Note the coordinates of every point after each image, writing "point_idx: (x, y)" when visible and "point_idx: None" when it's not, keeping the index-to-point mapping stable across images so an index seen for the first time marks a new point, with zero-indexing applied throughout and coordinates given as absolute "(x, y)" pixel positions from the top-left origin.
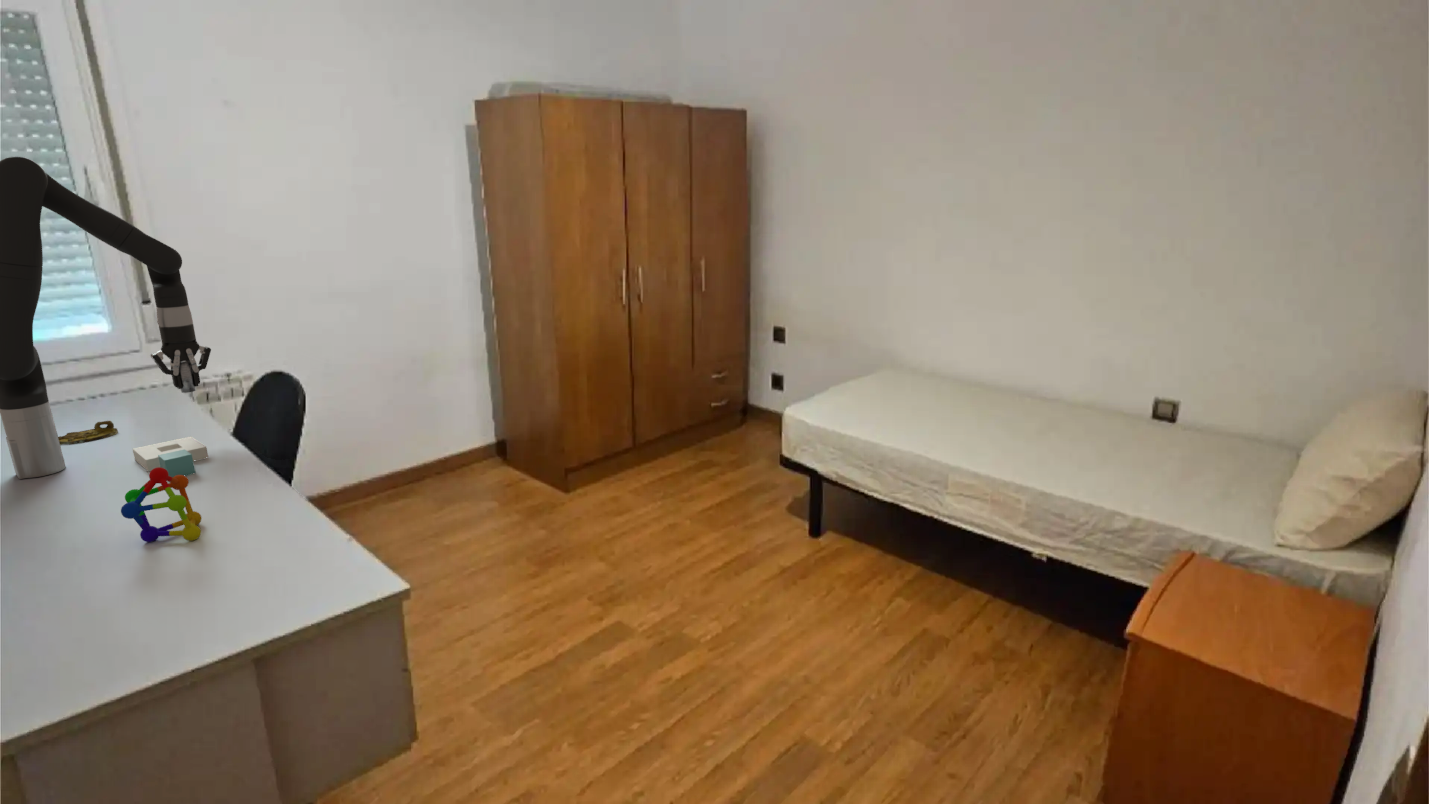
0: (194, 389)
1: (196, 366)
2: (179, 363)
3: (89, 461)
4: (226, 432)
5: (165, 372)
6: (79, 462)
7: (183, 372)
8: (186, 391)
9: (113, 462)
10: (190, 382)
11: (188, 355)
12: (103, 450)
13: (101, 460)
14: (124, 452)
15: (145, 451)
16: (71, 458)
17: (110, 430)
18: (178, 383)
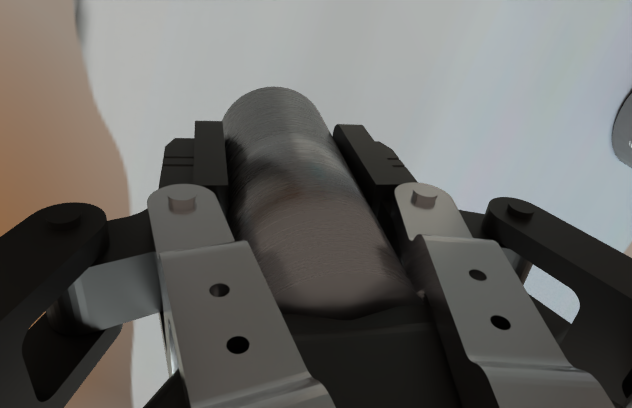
0: (234, 109)
1: (167, 236)
2: (433, 258)
3: (559, 114)
4: (94, 95)
5: (538, 212)
6: (575, 129)
7: (346, 188)
8: (304, 98)
9: (543, 28)
10: (270, 123)
11: (295, 377)
12: (474, 207)
13: (541, 93)
14: (459, 132)
15: None
16: (555, 191)
17: None
18: (373, 144)
